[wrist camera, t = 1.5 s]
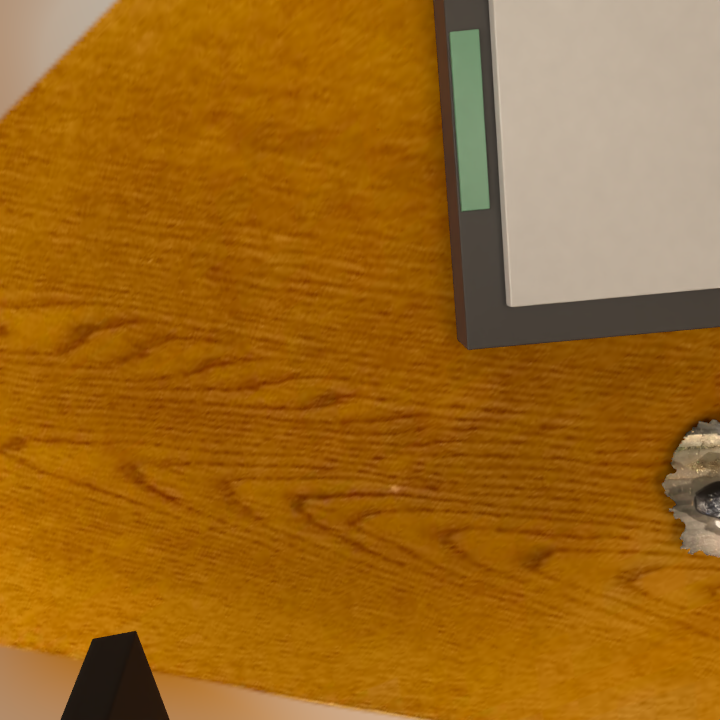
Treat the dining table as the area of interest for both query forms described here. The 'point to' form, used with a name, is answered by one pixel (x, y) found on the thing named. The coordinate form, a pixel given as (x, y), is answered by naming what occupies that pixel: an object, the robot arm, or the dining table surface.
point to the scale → (581, 166)
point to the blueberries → (698, 488)
